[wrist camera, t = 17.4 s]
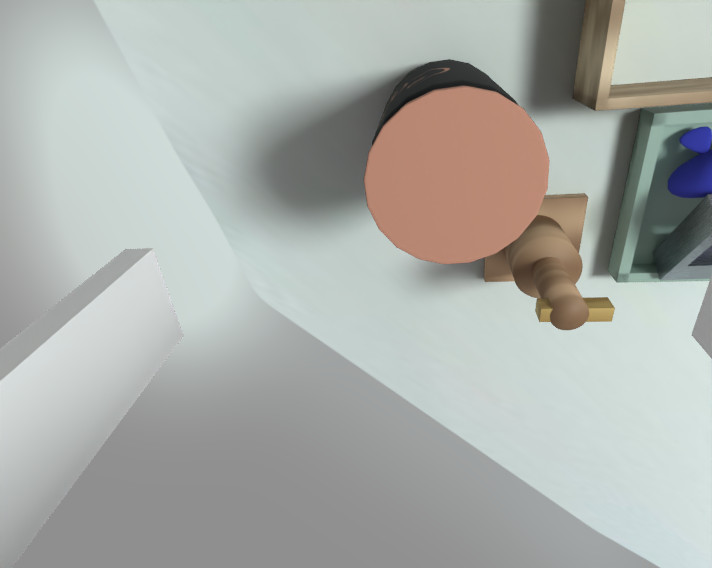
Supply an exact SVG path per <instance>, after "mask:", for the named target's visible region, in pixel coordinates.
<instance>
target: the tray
mask: <svg viewBox="0 0 712 568" xmlns="http://www.w3.org/2000/svg"><path fill="white" fill-rule="evenodd" d="M705 126H708V127H709V128H710V129H711V130H712V103H707V104H693V105H679V106H665V107H652V108H642V109H641V114H640V118H639V123H638V128H637V133H636V138H635V142H634V147H633V152H632V157H631V162H630V166H629V171H628V176H627V181H626V186H625V190H624V195H623V200H622V205H621V210H620V214H619V219H618V224H617V229H616V234H615V238H614V243H613V248H612V253H611V258H610V263H609V267H608V271H609V273H610V274H611V275H612V277H613V278H614V279H615V281H616V282H670V281H710V279H711V278H708V279H682V280H659V276H658V272H657V268H656V265H655V261H654V257H653V253H652V252H653V251H654V250H655V249H656V248H657V247H658V246H659V245H660V244H661V243H662V242H663V241H664V240H665V239H666V238H667V237H668V236H669V235H670V234H671V232H672V231H673V230H674V229H675V228H676V227H677V226H678V225H679V224H680V223H681V222H682V221H683V220H684V219H685V218H686V217H687V216H688V215H689V214H690V212H691V211H692V210H693V209H694V208H695V207H696V206H697V205H698V204H699V203H700V202H701V201H702V200H703V199H704V198H705V197H703V198H682V197H678V196H675V195H673V194H672V193H671V192H670V191H669V190H668V179H669V177H670V176H671V174H672V173H673V172H674V171H675V170H676V169H677V168H678V167H679V166H680V165H682V164H684V163H685V162H687V161H689V160H690V159H692V158H694V157H695V156H697V155H699V153H697V152H694V151H692V150H690V149H688V148H686V147H684V146H683V145H682V144H680V141H679V139H680V137H681V136H682V135H683V134H685V133H687V132H688V131H690V130H692V129H695V128H698V127H705ZM711 149H712V141H711V146H710V150H711Z"/></svg>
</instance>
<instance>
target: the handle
mask: <svg viewBox="0 0 712 568" xmlns="http://www.w3.org/2000/svg"><path fill="white" fill-rule="evenodd" d="M587 201H588V196H587V195H586V194H565V195H545V196H544V199H543V201H542V203H541V206H540V208H539V211H538V213H537V216H536V217H535V218H534V219H533V221H532V222H531V223H530V224H529V226H528V227H527V228H526V229H525V230H524V232H523V233H522V234H521V235H520V237H519V238H517V239H516V240H514V241H513V242H512V243H510V244H509V245H507V246H506V247H504V248H503V249H501V250H500V251H499V252H497V253H496V254H493V255H490V256H487V257H485V265H484V280H485V282H499V281H515V283H516V285H517V286H518V288H519V289H520V290H521V291H522V292H524V293H525V294H527V295H529V296H531V297H535V298H537V302H536V310H535V311H536V314H537V317H538V319H539V322H551V323H552V324H553V325H554V326H555V327H556V328H558V329H561V330H572V329H576V328H578V327H580V326H582V325H583V324H584V323H585V322H600V321H612V318H613V314H614V309H615V308H614V306H613V305H612V303H611V302H610V300H609V299H608V297H604V298H582V296H581V294H580V293H579V291H578V289H577V287H576V286H575V284H576V282H577V281H578V279H579V278H580V275H581V272H582V260H581V257H580V255H579V249H580V243H581V237H582V231H583V225H584V219H585V213H586V207H587Z"/></svg>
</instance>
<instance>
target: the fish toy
mask: <svg viewBox="0 0 712 568" xmlns="http://www.w3.org/2000/svg"><path fill="white" fill-rule="evenodd" d="M679 141H680V144H682V145H683V146H684V147H686V148H688V149H690V150H692V151H694V152H697V153H699V155H697V156H695V157H694V158H692V159H690V160H689V161H687V162H685V163H684V164H682V165H680V166H679V167H678V168H677V169H676V170H675V171H674V172H673V173H672V174H671V176H670V177H669V179H668V190H669V191H670V192H671V193H672V194H673V195H675V196H678V197H682V198H703V197H706V196H707V195H708V194H712V149H711V150H710V146H711V141H712V130H711V129H710V128H709V127H708V126H705V127H698V128H695V129H692V130H690V131H688V132H687V133H685V134H683V135H682V136H681V137H680V139H679Z"/></svg>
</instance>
